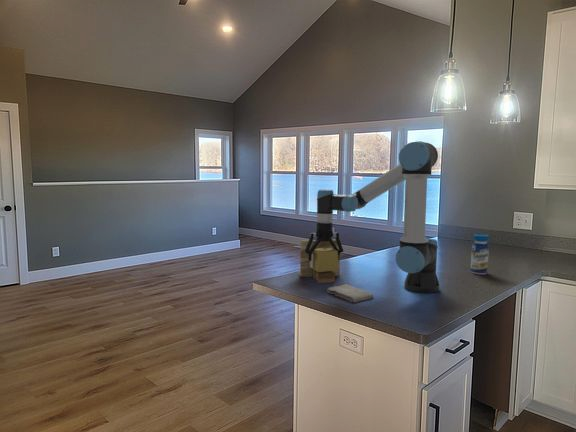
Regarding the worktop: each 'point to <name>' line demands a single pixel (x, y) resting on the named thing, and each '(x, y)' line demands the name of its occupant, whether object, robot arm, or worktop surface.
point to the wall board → (307, 271)
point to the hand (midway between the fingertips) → (323, 266)
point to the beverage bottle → (479, 254)
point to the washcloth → (350, 293)
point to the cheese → (325, 259)
